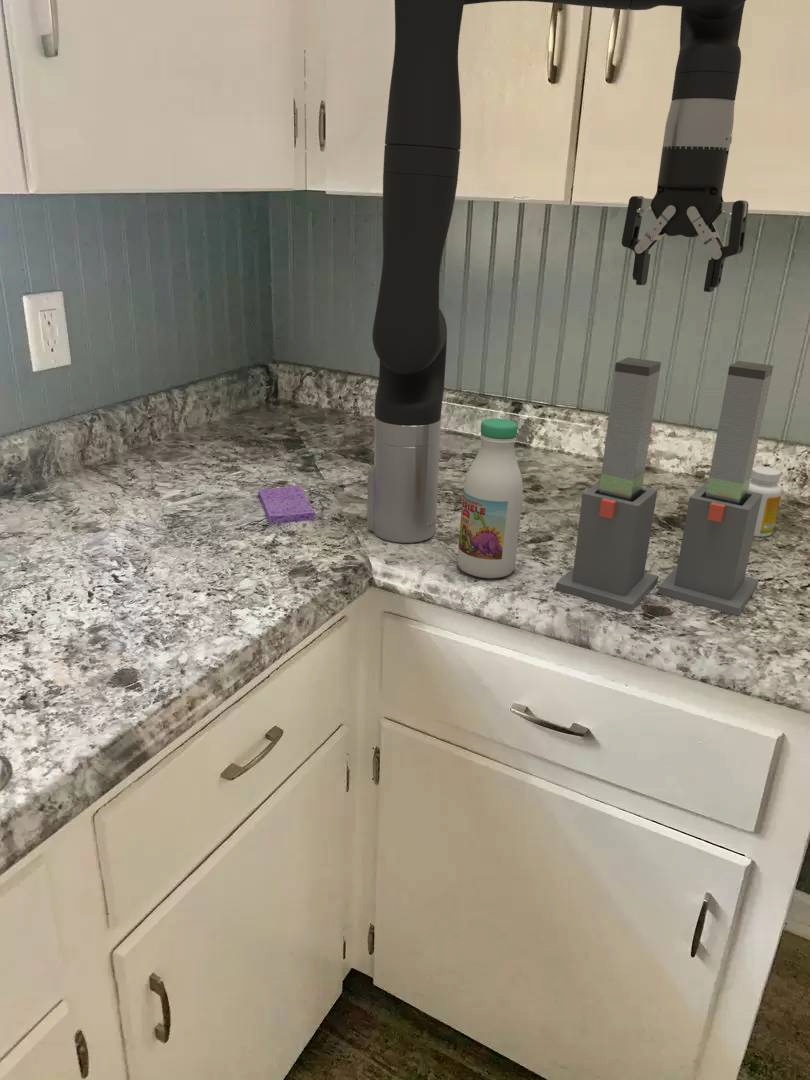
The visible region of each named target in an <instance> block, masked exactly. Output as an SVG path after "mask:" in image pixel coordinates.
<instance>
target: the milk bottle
mask: <svg viewBox="0 0 810 1080" xmlns="http://www.w3.org/2000/svg"><path fill="white" fill-rule="evenodd" d="M518 427H519V425H518V423H517V422H516V421H513V420H510V419H507V418H496V417H495V418H485V419H484V420H482V421H481V424H480V436H479V438H480V439H481V443H480V447H479V449H478V452H477V454H476V456H475V458H474V460H473V461H472V464H471V465H470V467H469V468H468V471H467V473H466V477H465V480H464V485H463V493H462V494H463V495H462V503H461V513H460V525H459V537H458V548H457V565H458V567H459V569H460V570H461V571H462V572H464V573H465V574H468V575H469V576H473V577H477V578H483V579H484V578H485V579H499V578H504V577H508V576H509V575H511V574H512V573H513V572H514V570H515V567H516V560H517V554H518V552H517V551H518V543H519V532H520V525H521V524H520V523H521V515H522V505H523V494H524V493H523V491H524V490H523V489H524V488H523V486H524V484H523V476H522V473H521V470H520V466H519V464H518V461H517V457H516V453H515V442H516V441H517V435H518V431H519V430H518V429H519V428H518Z"/></svg>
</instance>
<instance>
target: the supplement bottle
mask: <svg viewBox="0 0 810 1080" xmlns="http://www.w3.org/2000/svg"><path fill="white" fill-rule="evenodd" d="M781 473H782V472H781V470H779V469H777V468H775V467H771V466H770V467H769V466H764V465H763V466H762V465H760V466H753V468H752V473H751V479H750V484H749V489H748V491H750V492H755V493H760V494H762V499H761V504H760V508H759V513H758V518H757V522H756V527H755V532H754V536H753V537H757V538H758V537H759V538H761V537H762V538H765V537H769V536H771V535H772V534H773V532H774V529H775V525H776V520H777V516H778V511H779V506H780V502H781V498H782V493H783V492H782V487H781V486H780V484H778V483H779V481H780V478H781Z"/></svg>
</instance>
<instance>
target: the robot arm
mask: <svg viewBox="0 0 810 1080" xmlns="http://www.w3.org/2000/svg"><path fill="white" fill-rule="evenodd" d="M746 1H747V0H394V20H395V21H394V28H395V29H394V53H393V61H392V71H391V78H390V84H389V85H390V86H389V93H388V94H389V96H388V103H387V116H386V127H385V136H384V151H383V152H384V153H383V169H382V170H383V173H382V266H381V274H380V281H379V282H380V283H379V291H378V297H377V303H376V309H375V313H374V320H373V321H374V322H373V325H372V332H371V333H372V337H371V338H372V339H371V341H372V344H373V349H374V351H375V354H376V356H377V358H378V359H379V371H378V383H377V387H376V388H377V389H376V392H375V397H374V398H375V399H374V450H373V452H374V453H373V456H374V457H373V465H372V466H370V467H369V468H368V470H367V515H366V516H367V517H366V518H367V521H366V526H367V528H366V529H367V530H368V531H371V532H373V534H374V535H375V536H377V537H378V538H380V539H383V540H385V541H388V542H393V543H401V544H402V543H405V544H409V543H418V542H423V541H426V540H429V539H431V538H432V537H434V536H435V534H436V529H437V528H436V527H437V508H438V493H439V492H438V489H439V488H438V487H439V486H438V485H439V472H440V471H439V469H440V468H439V467H440V450H441V448H440V447H441V446H440V445H441V425H442V421H441V420H442V406H443V400H444V399H443V398H444V393H445V392H444V391H445V381H446V380H445V379H446V378H445V376H446V362H447V361H446V360H447V345H448V327H447V326H448V325H447V321H446V318H445V316H444V313H443V312H442V310H441V309H440V276H441V275H440V274H441V264H442V259H443V258H442V257H443V253H444V249H445V245H446V242H447V241H446V239H447V237H448V232H449V229H450V224H451V220H452V217H453V210H454V205H455V201H456V200H455V199H456V195H457V187H458V180H459V169H460V160H461V159H460V156H461V144H462V143H461V141H462V140H461V139H462V108H461V107H462V106H461V105H462V104H461V90H460V89H461V88H460V73H459V45H460V36H461V35H460V32H461V26H462V20H463V13H464V12H463V11H464V6H466V5H467V6H468V5H475V4H483V3H496V2H499V3H500V2H537V3H538V2H539V3H550V4H560V5H570V6H580V7H590V8H591V7H592V8H601V9H602V8H603V9H613V10H625V11H628V10H629V11H647V10H651V9H654V8H657V7H660V6H665V7H681V12H680V26H679V27H680V30H679V51H678V56H677V61H676V66H675V72H674V78H673V79H674V80H673V87H672V94H671V101H670V105H669V110H668V114H667V116H666V117H667V118H666V122H665V128H664V135H663V142H662V147H661V148H662V149H661V150H662V151H661V155H660V156H661V157H660V163H659V171H658V177H657V187H656V193H655V195H654V197H653V198H648V197H644V196H642V195H632V196H630V198H628V199H629V200H628V205H627V210H626V214H625V221H624V227H623V233H622V237H621V245H622V246H623V247H624V248H627V249H630V250H631V251H633V252H634V260H633V261H634V262H633V268H632V280H634V281H635V285H636V286H645V285H647V282H648V277H649V276H648V275H649V269H650V263H651V262H650V261H651V253H649V252H650V251H651V249H653V248H654V246H655V244H657V242H658V241H660V240H661V239H662V238H663V237H664V236H665V235H666V236H669V237H677V236H682V237H686V238H697V237H699V238H700V240H701V241H702V243H703V244H704V246H705V247H706V249H707V250H708V252H709V255H710V257H711V259H708V262H707V268H706V275H705V279H704V286H703V291H704V292H705V293H711V292H713V291H714V290H715V288H718V287H719V286H720V284H721V281H722V275H723V269H724V265H725V261H726V259H727V258H729V257H732V256H735V255H739V254H741V253H743V252H744V248H745V247H744V246H745V245H744V244H745V237H746V231H747V230H746V229H747V222H748V212H749V211H748V210H749V202H748V201H747V200H744V199H743V200H742V199H740V200H736V201H724V198H723V189H724V184H725V178H726V177H725V176H726V171H727V165H728V159H729V153H730V147H731V144H732V141H733V129H734V122H735V121H734V120H735V104H736V102H735V101H736V97H737V91H738V85H739V78H740V74H741V73H740V72H741V65H742V52H741V48H740V46H739V39H740V33H741V27H742V20H743V13H744V7H745V3H746ZM649 209H650V210H651V211H652V214H653V215H654V216H655V219H656V220H655V221H654V222H653V223H652V225H651V226H650V227H649V228H648V229H647V230H646V232H645V234H644V235H643V237H642V238H640V239H639V236H640V230H641V225H642V220H643V216H646V215H647V213H648V211H649ZM723 212H725V217H726V219H727V220H728V221H730V227H729V236H728V242H727V245H726V246H725V245H724V243H723V241H722V239H721V236H720V233H719V231H718V230H717V227H716V226H715V224H714V222H715V221H716V219H718V217H719V216H721V214H722V213H723Z"/></svg>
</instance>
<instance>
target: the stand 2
mask: <svg viewBox="0 0 810 1080" xmlns="http://www.w3.org/2000/svg"><path fill="white" fill-rule="evenodd" d="M707 484H708V481H707V482H704V483H703V484H702V485H701V486H700V487H699V488H698V489H697V490H696V491H694V493H692V495H690V497H689V499H688V505H687V509H686V514H685V515H686V516H685V520H684V521H685V522H684V527H683V532H682V539H681V544H680V550H679V557H678V561H677V565H676V566H675V568H673V570H672V571H671V572H670V573H669V574H668V575H667V577H666V578H664V580H663V581H662V582H661V583H660V585H659V586H658V589H657V594H659V595H662V596H667V597H669V598H674V599H677V600H681V601H684V602H688V603H691V604H695V605H698V606H702V607H704V608H705V607H706V608H709V609H712V610H715V611H719V612H723V613H727V614H730V615H734V616H739V615H740V614H741V613H742V611H743V609H744V608H745V606H746V605H747V604H748V602H749V600H750V599H751V597H752V595H753V594H754V592H755V591H756V589H757V587H758V585H759V578H753V577H750V576H747V575H746V574H747V568H748V563H749V560H750V554H751V550H752V546H753V540H754V537H755V536H754V532H755V527H756V522H757V518H758V513H759V508H760V504H761V499H762V494H760V493H755V492H750V491H748V493H747V498H746V502H745V503H744V505H743V506H740V505H736V504H731V503H727V502H722V501H717V500H713V499H708V498H705V496H706V490H707Z"/></svg>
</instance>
